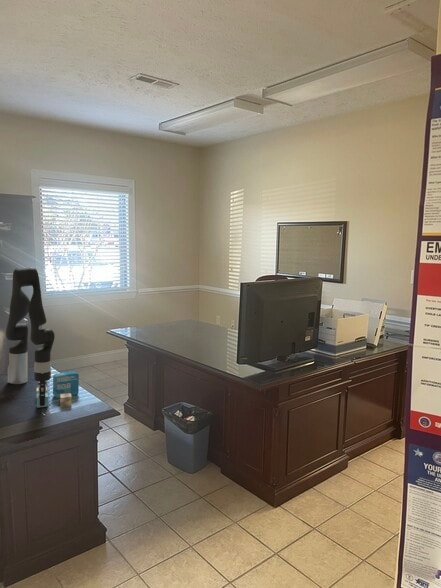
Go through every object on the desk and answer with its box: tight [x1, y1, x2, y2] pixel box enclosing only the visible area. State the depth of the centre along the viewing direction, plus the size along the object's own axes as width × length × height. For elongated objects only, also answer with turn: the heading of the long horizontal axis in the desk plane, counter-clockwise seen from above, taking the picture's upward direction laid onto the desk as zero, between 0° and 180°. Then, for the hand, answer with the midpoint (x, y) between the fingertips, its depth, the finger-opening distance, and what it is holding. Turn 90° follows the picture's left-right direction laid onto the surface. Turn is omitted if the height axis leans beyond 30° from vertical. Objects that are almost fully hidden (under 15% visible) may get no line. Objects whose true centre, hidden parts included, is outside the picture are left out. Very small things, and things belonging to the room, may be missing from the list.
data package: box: [52, 370, 80, 399], centre depth 224 cm, size 12×4×12 cm, turn 127°
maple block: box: [59, 393, 72, 408], centre depth 212 cm, size 5×5×5 cm
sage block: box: [36, 386, 48, 401], centre depth 219 cm, size 5×5×5 cm
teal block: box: [36, 392, 49, 408], centre depth 209 cm, size 5×5×5 cm
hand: (42, 403), depth 209 cm, fingers closed on teal block, 5 cm apart
